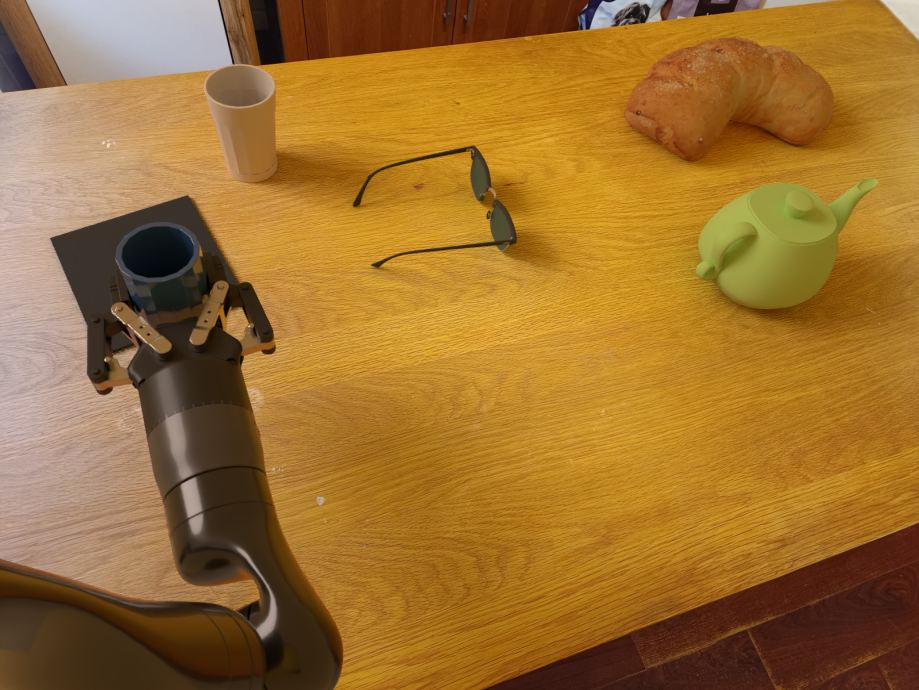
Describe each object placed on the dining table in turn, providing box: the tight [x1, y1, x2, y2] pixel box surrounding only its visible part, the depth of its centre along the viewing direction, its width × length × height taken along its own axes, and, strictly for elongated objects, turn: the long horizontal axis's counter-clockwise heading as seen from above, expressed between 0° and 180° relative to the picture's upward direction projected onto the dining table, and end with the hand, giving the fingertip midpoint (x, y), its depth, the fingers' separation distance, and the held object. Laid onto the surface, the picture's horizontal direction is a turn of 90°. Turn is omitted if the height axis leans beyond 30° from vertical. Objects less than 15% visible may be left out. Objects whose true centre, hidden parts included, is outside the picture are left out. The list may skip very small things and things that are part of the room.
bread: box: [624, 36, 835, 162], centre depth 107 cm, size 32×20×10 cm, turn 107°
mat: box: [49, 194, 240, 354], centre depth 83 cm, size 16×18×1 cm
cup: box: [203, 63, 279, 184], centre depth 89 cm, size 8×8×12 cm
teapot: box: [695, 177, 879, 310], centre depth 89 cm, size 22×15×13 cm
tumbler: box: [116, 222, 212, 329], centre depth 61 cm, size 6×6×11 cm
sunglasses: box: [352, 145, 518, 268], centre depth 90 cm, size 16×17×5 cm
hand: (165, 266), depth 62 cm, fingers closed on tumbler, 6 cm apart
